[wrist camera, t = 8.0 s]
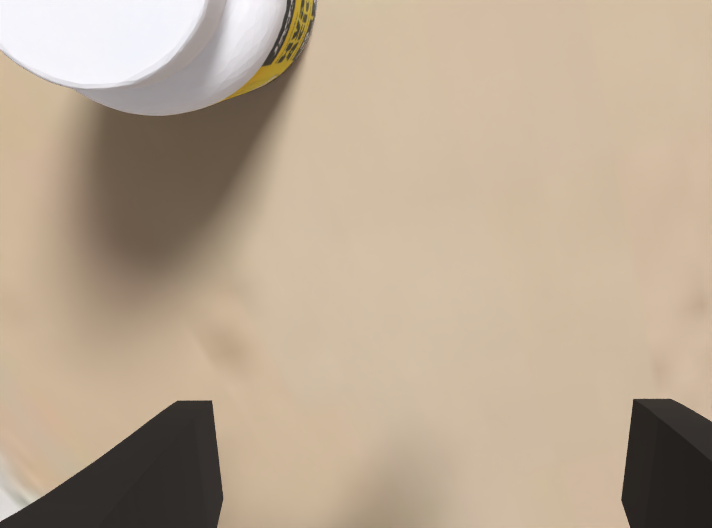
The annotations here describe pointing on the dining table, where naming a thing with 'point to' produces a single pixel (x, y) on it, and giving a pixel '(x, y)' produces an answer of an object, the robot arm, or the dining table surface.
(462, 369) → the dining table surface
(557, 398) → the dining table surface
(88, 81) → the supplement bottle
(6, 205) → the dining table surface
